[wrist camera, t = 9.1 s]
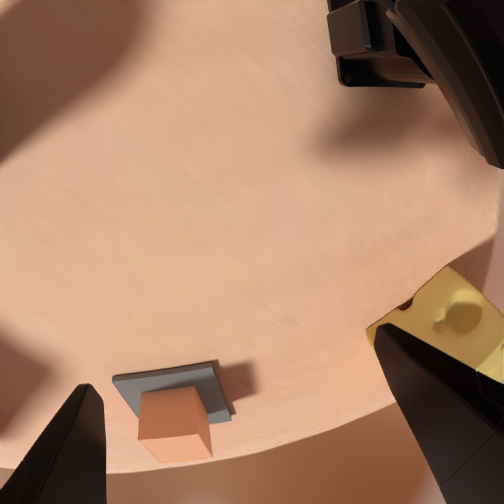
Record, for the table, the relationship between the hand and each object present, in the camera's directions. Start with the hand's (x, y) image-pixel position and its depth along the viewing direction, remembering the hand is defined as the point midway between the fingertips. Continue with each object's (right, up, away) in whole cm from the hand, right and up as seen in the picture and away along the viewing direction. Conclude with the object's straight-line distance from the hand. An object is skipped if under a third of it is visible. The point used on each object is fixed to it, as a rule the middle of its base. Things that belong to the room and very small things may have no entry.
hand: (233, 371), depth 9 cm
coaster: (-7, -10, +18) cm, 22 cm away
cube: (-7, -11, +18) cm, 22 cm away
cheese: (+17, -3, +20) cm, 26 cm away
